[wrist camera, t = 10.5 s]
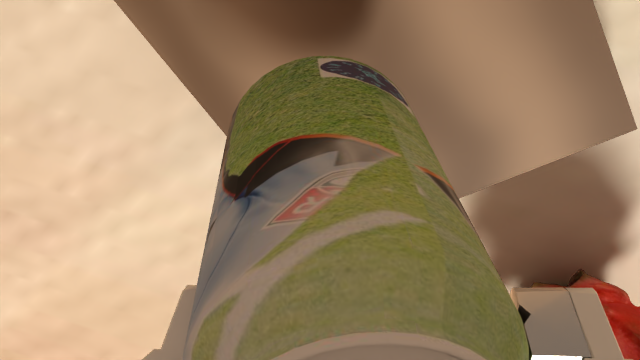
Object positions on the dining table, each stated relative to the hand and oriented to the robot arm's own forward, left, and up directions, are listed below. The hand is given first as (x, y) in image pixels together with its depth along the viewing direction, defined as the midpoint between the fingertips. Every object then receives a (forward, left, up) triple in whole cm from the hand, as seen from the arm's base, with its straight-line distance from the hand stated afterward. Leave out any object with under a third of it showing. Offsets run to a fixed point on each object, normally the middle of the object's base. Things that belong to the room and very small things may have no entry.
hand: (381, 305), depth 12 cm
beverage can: (-1, 0, -8) cm, 8 cm away
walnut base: (0, 0, -15) cm, 15 cm away
